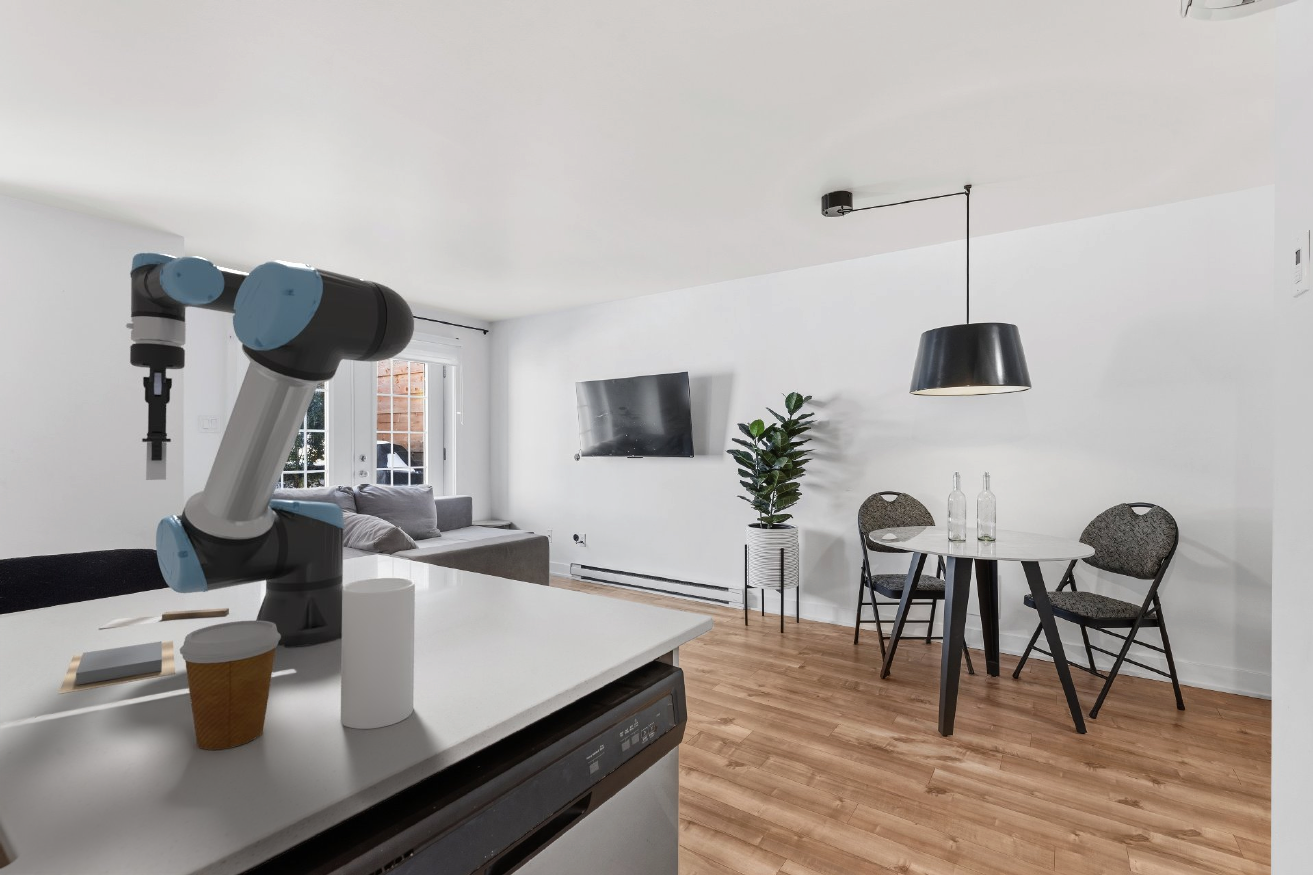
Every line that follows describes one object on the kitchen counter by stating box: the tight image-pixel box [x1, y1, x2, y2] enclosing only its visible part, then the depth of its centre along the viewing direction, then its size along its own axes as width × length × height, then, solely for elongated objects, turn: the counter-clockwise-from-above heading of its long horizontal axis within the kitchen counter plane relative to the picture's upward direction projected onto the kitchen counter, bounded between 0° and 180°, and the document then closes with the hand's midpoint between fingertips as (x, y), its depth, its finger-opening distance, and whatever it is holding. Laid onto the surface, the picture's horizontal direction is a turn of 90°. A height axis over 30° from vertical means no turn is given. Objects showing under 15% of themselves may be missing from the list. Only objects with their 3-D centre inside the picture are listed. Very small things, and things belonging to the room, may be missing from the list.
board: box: [58, 640, 176, 695], centre depth 93 cm, size 18×12×1 cm, turn 38°
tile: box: [76, 641, 163, 685], centre depth 91 cm, size 2×9×10 cm
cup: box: [340, 577, 416, 730], centre depth 78 cm, size 8×8×16 cm
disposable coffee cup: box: [179, 620, 281, 751], centre depth 72 cm, size 10×10×12 cm
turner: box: [98, 607, 230, 631], centre depth 117 cm, size 18×6×2 cm, turn 108°
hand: (156, 479), depth 111 cm, fingers closed
